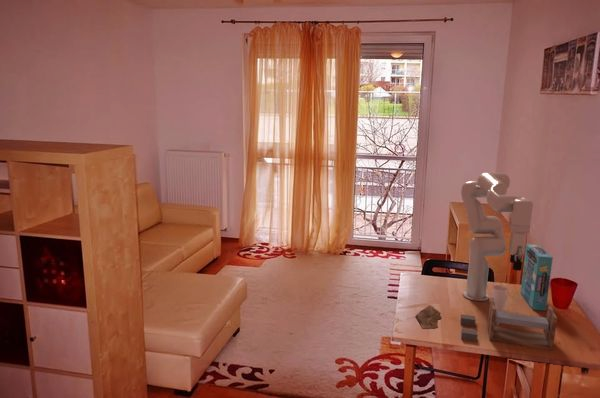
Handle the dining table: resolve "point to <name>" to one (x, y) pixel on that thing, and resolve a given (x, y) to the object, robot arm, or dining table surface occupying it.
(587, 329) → the dining table surface
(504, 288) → the drinking glass
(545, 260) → the game box
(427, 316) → the wooden fragment
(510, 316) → the shelf board
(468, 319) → the support blocks
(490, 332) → the shelf unit
